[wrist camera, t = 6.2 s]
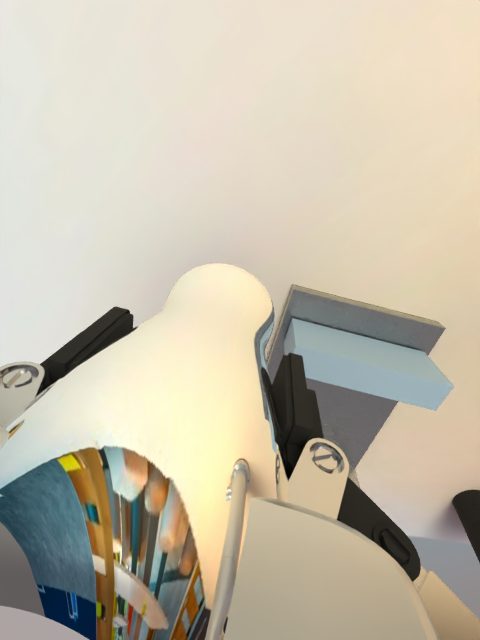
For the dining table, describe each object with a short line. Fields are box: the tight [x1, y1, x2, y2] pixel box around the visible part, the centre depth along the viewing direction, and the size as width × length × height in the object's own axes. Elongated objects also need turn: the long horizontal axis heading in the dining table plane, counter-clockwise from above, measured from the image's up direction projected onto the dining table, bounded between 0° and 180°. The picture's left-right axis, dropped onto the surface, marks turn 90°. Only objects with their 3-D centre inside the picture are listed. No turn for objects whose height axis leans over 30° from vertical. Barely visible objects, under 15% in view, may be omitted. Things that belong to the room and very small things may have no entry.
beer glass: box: [0, 263, 290, 640], centre depth 10 cm, size 7×7×15 cm
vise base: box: [266, 285, 446, 488], centre depth 33 cm, size 26×16×8 cm, turn 167°
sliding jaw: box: [284, 318, 454, 411], centre depth 28 cm, size 3×14×6 cm, turn 77°
